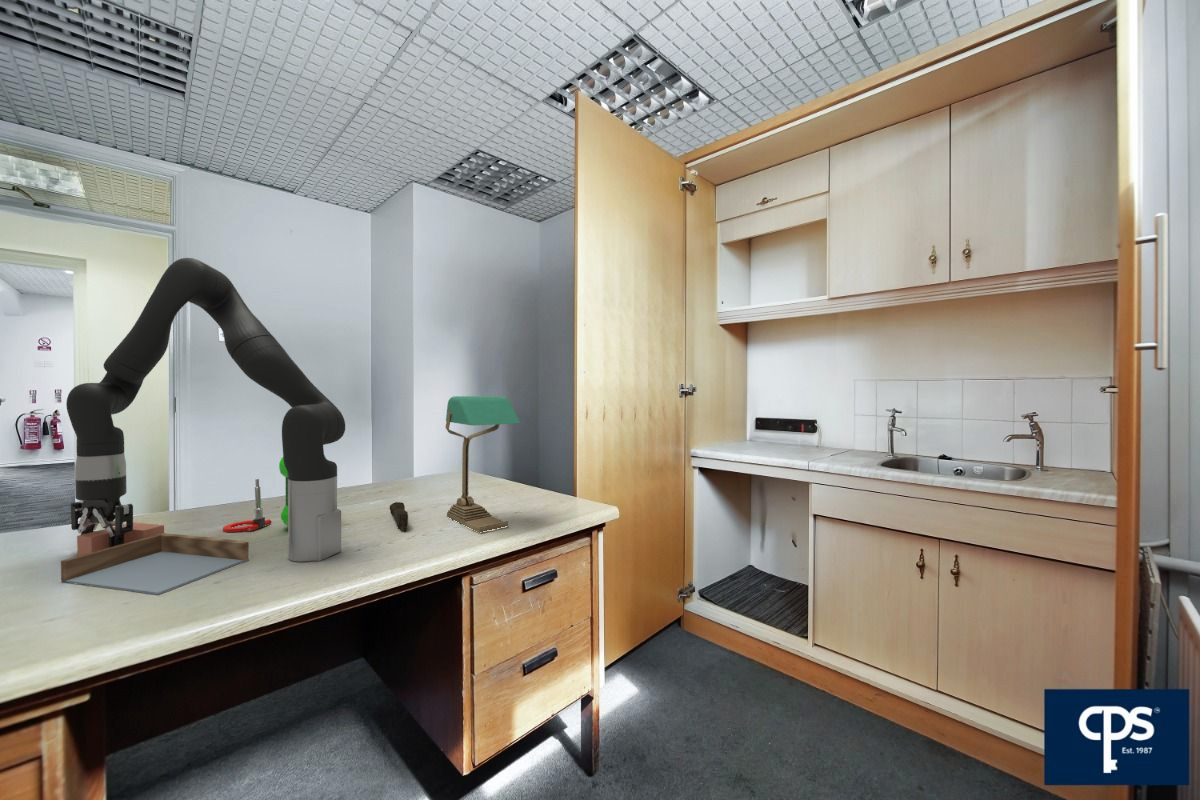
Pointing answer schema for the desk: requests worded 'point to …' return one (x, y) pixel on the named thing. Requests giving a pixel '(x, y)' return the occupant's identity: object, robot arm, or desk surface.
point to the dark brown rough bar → (399, 515)
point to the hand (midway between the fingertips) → (102, 550)
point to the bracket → (101, 537)
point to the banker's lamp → (468, 413)
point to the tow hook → (258, 516)
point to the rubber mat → (156, 572)
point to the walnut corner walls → (150, 546)
